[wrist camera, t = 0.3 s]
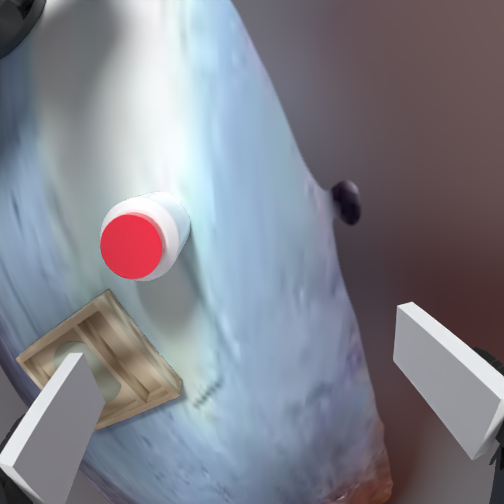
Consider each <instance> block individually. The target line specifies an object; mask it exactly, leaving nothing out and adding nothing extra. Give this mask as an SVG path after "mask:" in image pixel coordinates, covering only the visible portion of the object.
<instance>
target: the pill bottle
mask: <svg viewBox="0 0 504 504" xmlns="http://www.w3.org/2000/svg"><path fill="white" fill-rule="evenodd" d="M189 233H190V219H189V214H188V212H187V210H186V208H185V207H184V205H183V204H182V203H181V202H180V201H179V200H178V199H177V198H176V197H174V196H172V195H171V194H168V193H165V192H150V193H147V194H143V195H140V196H136V197H133V198H130V199H126V200H124V201H122V202H120V203H118V204H117V205H115V206H114V207H113V208H112V209H111V210H110V211H109V212H108V214H107V215H106V217H105V219H104V221H103V223H102V227H101V230H100V247H101V253H102V257H103V259H104V261H105V263H106V264H107V266H108V267H109V268H110V269H111V270H112V271H113V272H114V273H116V274H117V275H119V276H121V277H123V278H127V279H130V280H134V281H149V280H154V279H156V278H158V277H161V276H162V275H163V274H165V273H166V272H167V271H168V270H169V269H170V268H171V267H172V266H173V264H174V263H175V261H176V259H177V257H178V256H179V254H180V252H181V250H182V248H183V247H184V245H185V243H186V241H187V239H188V236H189Z"/></svg>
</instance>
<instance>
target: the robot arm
mask: <svg viewBox="0 0 504 504" xmlns="http://www.w3.org/2000/svg"><path fill="white" fill-rule="evenodd" d="M44 4H45V0H0V58H2V57H4V56H5V55H7V54H8V53H9V52H11V51H12V50H13V49H14V48H15V47H16V46H17V45H18V44H19V43H20V42H21V41H22V40H23V39H24V38H25V37H26V35H27V34H28V33H29V32H30V30H31V29H32V27H33V26H34V24H35V23H36V21H37V19H38V18H39V16H40V14H41V12H42V9H43V7H44ZM393 361H394V362H395V363H396V364H397V365H398V367H399V368H400V369H401V370H402V371H403V373H404V374H405V375H406V376H407V377H408V379H409V380H410V381H411V383H412V384H413V385H414V386H415V387H416V389H417V390H418V391H419V393H420V394H421V395H422V396H423V398H424V399H425V400H426V401H427V403H428V404H429V405H430V406H431V408H432V409H433V410H434V411H435V413H436V414H437V415H438V416H439V418H440V419H441V420H442V421H443V423H444V424H445V425H446V427H447V428H448V429H449V431H450V432H451V433H452V434H453V436H454V437H455V438H456V440H457V441H458V442H459V444H460V445H461V446H462V448H463V449H464V450H465V451H466V453H467V454H468V455H469V457H470V458H471V459H472V460H474V459H476V458H478V457H479V456H481V455H483V454H484V453H486V452H488V451H489V450H490V448H491V446H492V444H493V442H494V440H495V439H496V440H497V441H498V442H499V443H500V445H499V447H498V449H497V450H496V452H495V454H494V456H493V458H492V459H491V461H490V464H489V465H492V464H493V462H494V460H495V459H496V466H495V474H494V481H493V487H492V493H491V498H490V503H489V504H504V366H503V364H502V363H501V362H500V361H498V360H496V358H495V357H494V356H492V355H491V354H490V353H488V352H487V351H485V350H482V349H480V348H477V347H474V348H472V349H470V348H469V347H468V346H467V345H466V344H465V343H463V342H462V341H461V340H460V339H459V338H457V337H456V336H455V335H454V334H452V333H451V332H450V331H449V330H447V329H446V328H445V327H444V326H442V325H441V324H440V323H439V322H437V321H436V320H435V319H434V318H432V317H431V316H430V315H428V314H427V313H426V312H425V311H423V310H422V309H421V308H420V307H418V306H417V305H416V304H414V303H413V302H410V303H407V304H402V305H399V306H397V319H396V334H395V346H394V356H393ZM105 403H106V402H105V400H104V398H103V396H102V394H101V392H100V389H99V387H98V385H97V383H96V381H95V378H94V376H93V374H92V372H91V369H90V367H89V365H88V362H87V360H86V357H85V355H84V353H69V354H68V356H67V357H66V358H65V360H64V361H63V362H62V364H61V365H60V366H59V368H58V369H57V370H56V372H55V373H54V375H53V376H52V377H51V379H50V380H49V382H48V383H47V384H46V386H45V387H44V389H43V390H42V391H41V393H40V394H39V396H38V397H37V399H36V400H35V402H34V403H33V404H32V406H31V407H30V409H29V410H28V412H27V413H26V414H24V415H23V416H21V417H20V418H19V419H18V420H17V421H16V422H15V423H14V425H13V426H12V428H11V429H10V432H9V433H8V434H7V435H6V439H4V440H3V442H2V443H1V445H0V504H33V503H34V504H65V502H66V499H67V496H68V493H69V491H70V488H71V485H72V483H73V480H74V477H75V475H76V472H77V470H78V467H79V465H80V462H81V460H82V457H83V455H84V452H85V450H86V447H87V445H88V442H89V440H90V438H91V435H92V433H93V430H94V428H95V426H96V423H97V421H98V419H99V417H100V414H101V412H102V410H103V407H104V405H105Z"/></svg>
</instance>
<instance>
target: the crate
mask: <svg viewBox="0 0 504 504" xmlns="http://www.w3.org/2000/svg"><path fill="white" fill-rule="evenodd" d="M69 353H84V355H85V357H86V360H87V362H88V365H89V367H90V369H91V372H92V374H93V376H94V378H95V381H96V383H97V385H98V387H99V389H100V392H101V394H102V396H103V398H104V400H105V402H106V403H105V405H104V407H103V410H102V412H101V414H100V417H99V419H98V421H97V423H96V426H95V428H94V430H93V432H94V431H96V430H99V429H102V428H104V427H107V426H110V425H112V424H115V423H117V422H120V421H122V420H125V419H127V418H130V417H132V416H135V415H137V414H140V413H142V412H144V411H147V410H149V409H152V408H154V407H156V406H158V405H161V404H163V403H165V402H168V401H170V400H172V399H174V398H176V397H179V396H180V391H181V386H182V379H181V378H180V377H179V376H178V375H177V374H176V373H175V372H174V370H173V369H172V368H171V367H170V366H169V365H168V363H167V362H166V361H165V360H164V359H163V358H162V356H161V355H160V354H159V353H158V352H157V350H156V349H155V348H154V347H153V346H152V344H151V343H150V342H149V341H148V340H147V338H146V337H145V336H144V335H143V333H142V332H141V331H140V329H139V328H138V327H137V326H136V324H135V323H134V322H133V321H132V319H131V318H130V317H129V315H128V314H127V313H126V311H125V310H124V309H123V307H122V306H121V305H120V303H119V302H118V301H117V299H116V298H115V296H114V295H113V294H112V292H111V291H110V290H109V289H108V290H106V291H105V292H103V293H102V294H101V295H99V296H98V297H96V298H95V299H93V300H92V301H91V302H89V303H88V304H86V305H85V306H83V307H82V308H81V309H79V310H78V311H76V312H75V313H74V314H72V315H71V316H69V317H68V318H67V319H65V320H64V321H62V322H61V323H60V324H58V325H57V326H56V327H54V328H53V329H51V330H50V331H49V332H47V333H46V334H45V335H43V336H42V337H41V338H39V339H38V340H37V341H35V342H34V343H33V344H31V345H30V346H29V347H27V348H26V349H25V350H24V351H23V352H22V353H21V354H20V355H19V357H18V358H17V359H16V360H17V362H18V363H19V364H20V365H21V367H22V368H23V369H24V370H25V372H26V373H27V374H28V375H29V376H30V378H31V379H32V380H33V381H34V382H35V384H36V385H37V386H38V387H39V388H40V389H41V390H43V389H44V387H45V386H46V384H47V383H48V382H49V380H50V379H51V377H52V376H53V375H54V373H55V372H56V370H57V369H58V368H59V366H60V365H61V364H62V362H63V361H64V360H65V358H66V357H67V356H68V354H69Z"/></svg>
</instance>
